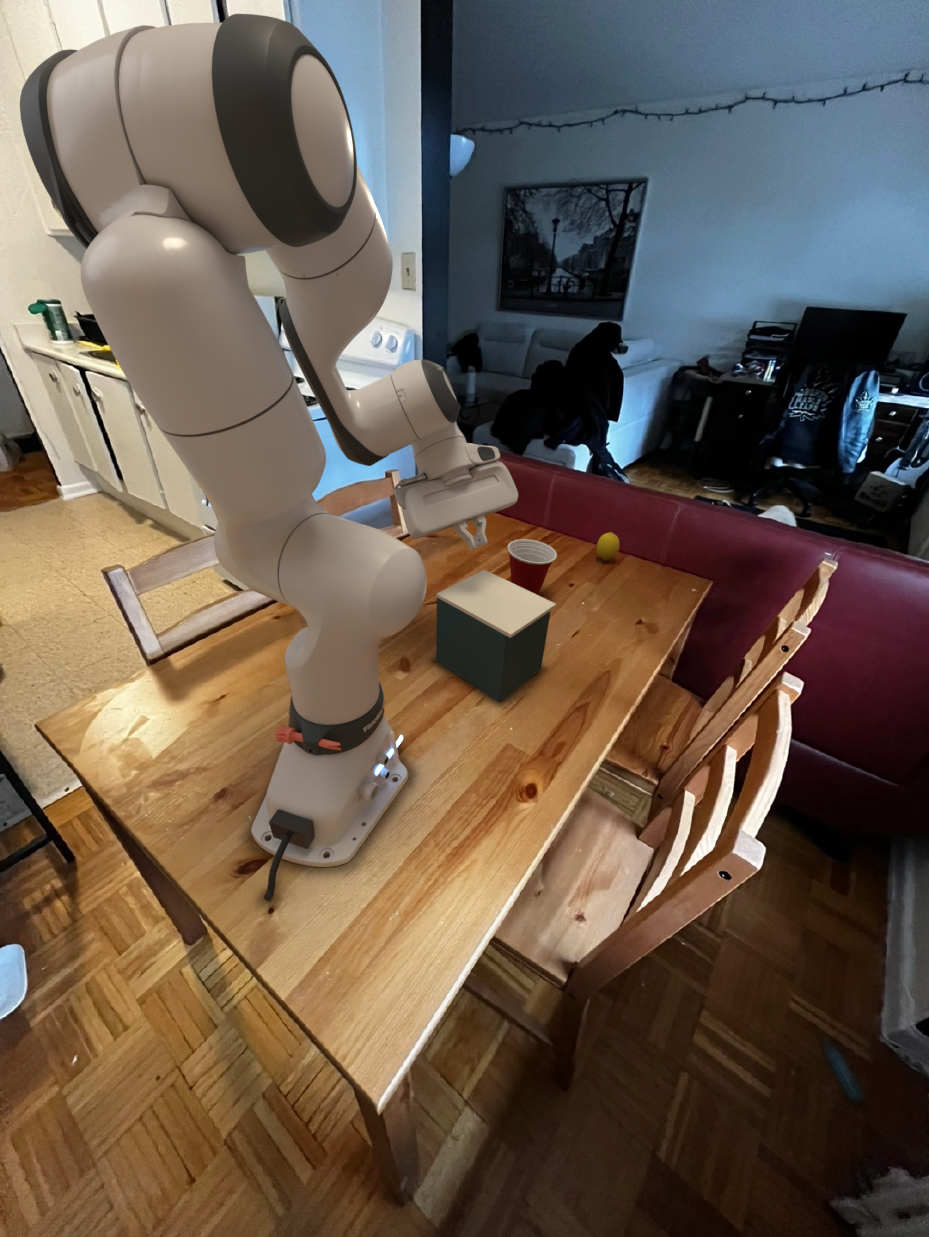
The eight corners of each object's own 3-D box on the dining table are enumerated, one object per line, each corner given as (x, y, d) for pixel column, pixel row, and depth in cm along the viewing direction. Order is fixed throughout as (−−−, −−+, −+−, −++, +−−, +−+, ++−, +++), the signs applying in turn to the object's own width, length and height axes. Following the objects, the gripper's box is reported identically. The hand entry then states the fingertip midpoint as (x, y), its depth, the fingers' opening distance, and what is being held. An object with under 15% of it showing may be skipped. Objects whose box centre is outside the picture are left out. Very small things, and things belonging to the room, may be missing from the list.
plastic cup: (549, 611, 109) (557, 563, 102) (500, 605, 110) (505, 557, 103) (550, 586, 118) (557, 540, 111) (504, 581, 119) (509, 535, 112)
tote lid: (555, 607, 84) (556, 603, 84) (510, 638, 77) (510, 634, 76) (483, 572, 93) (484, 569, 93) (436, 597, 85) (436, 593, 85)
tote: (541, 669, 93) (551, 605, 85) (498, 702, 85) (506, 635, 77) (479, 633, 101) (483, 572, 93) (435, 661, 94) (436, 597, 85)
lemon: (618, 559, 131) (625, 531, 126) (611, 567, 127) (618, 539, 122) (598, 553, 133) (604, 526, 128) (590, 561, 129) (596, 533, 124)
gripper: (396, 475, 73) (431, 562, 74) (505, 445, 82) (536, 524, 83) (384, 490, 79) (417, 571, 80) (487, 460, 88) (516, 534, 88)
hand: (478, 546), depth 81 cm, fingers closed
